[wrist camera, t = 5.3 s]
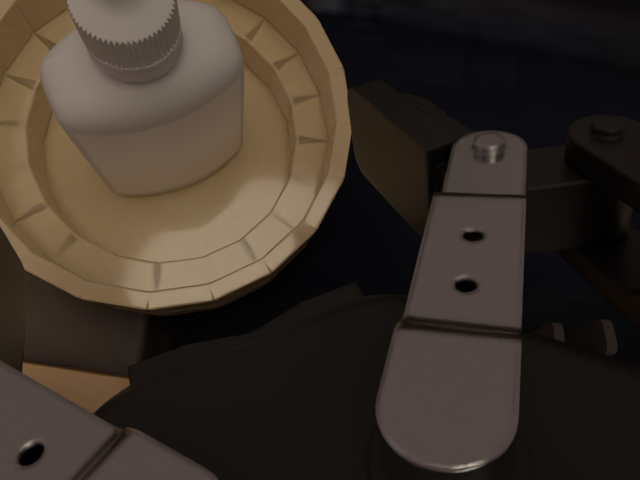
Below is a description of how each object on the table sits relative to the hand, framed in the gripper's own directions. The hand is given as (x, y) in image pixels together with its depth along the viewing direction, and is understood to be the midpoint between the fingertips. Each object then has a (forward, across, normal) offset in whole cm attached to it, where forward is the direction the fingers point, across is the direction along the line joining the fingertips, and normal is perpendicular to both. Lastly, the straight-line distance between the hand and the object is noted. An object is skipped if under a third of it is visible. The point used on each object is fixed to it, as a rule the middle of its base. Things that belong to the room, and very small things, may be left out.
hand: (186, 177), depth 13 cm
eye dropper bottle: (+11, 0, +4) cm, 11 cm away
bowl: (+11, 0, +5) cm, 12 cm away
